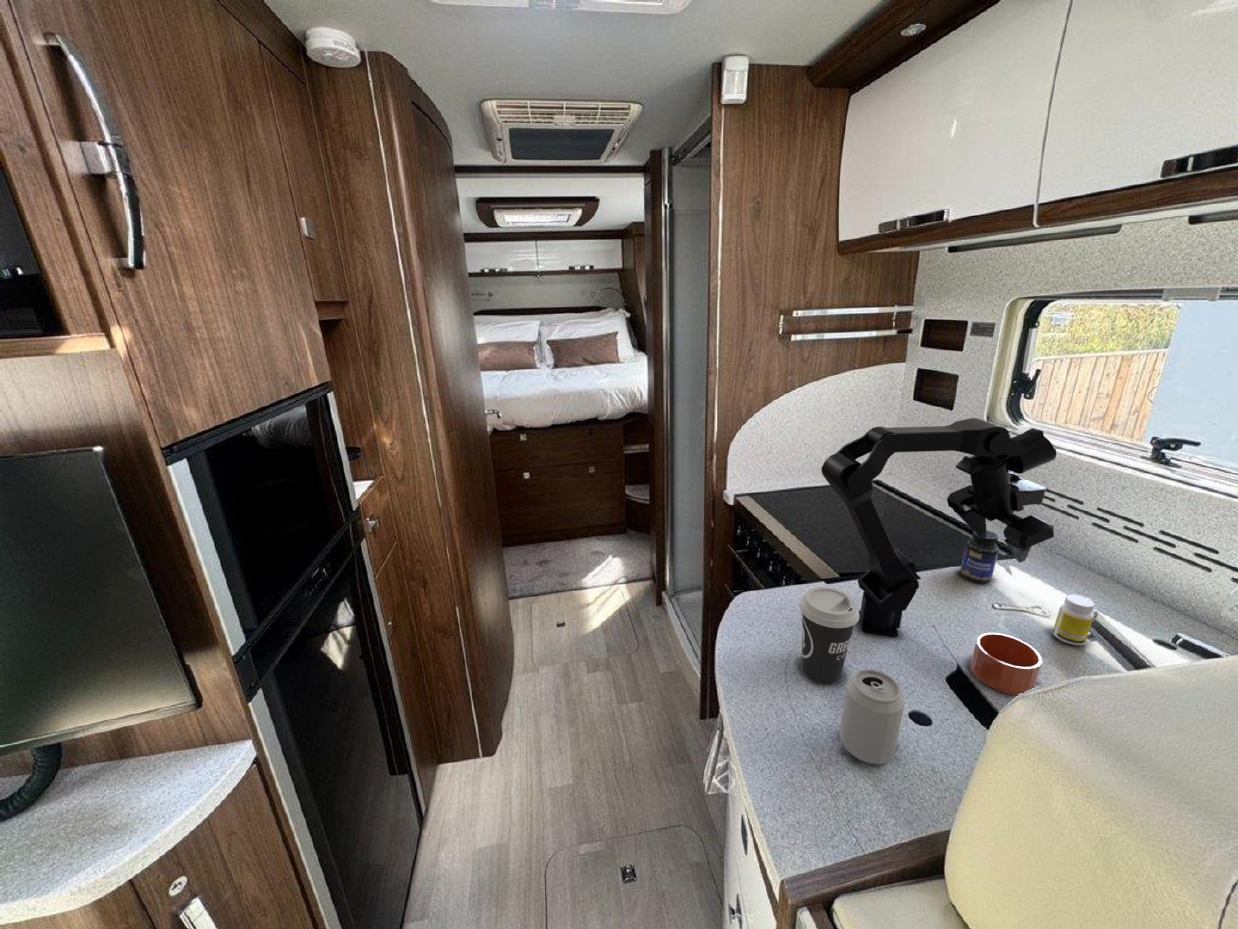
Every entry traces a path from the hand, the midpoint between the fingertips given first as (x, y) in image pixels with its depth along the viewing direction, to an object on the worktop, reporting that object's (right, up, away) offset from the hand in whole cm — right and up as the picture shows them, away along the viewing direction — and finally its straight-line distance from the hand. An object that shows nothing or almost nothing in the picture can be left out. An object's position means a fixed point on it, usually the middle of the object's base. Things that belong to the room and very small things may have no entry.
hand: (1001, 549), depth 98 cm
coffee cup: (-39, -21, -8) cm, 44 cm away
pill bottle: (+8, -10, +18) cm, 22 cm away
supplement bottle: (+11, -17, -2) cm, 20 cm away
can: (-38, -26, -22) cm, 51 cm away
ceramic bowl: (-8, -20, -10) cm, 24 cm away
